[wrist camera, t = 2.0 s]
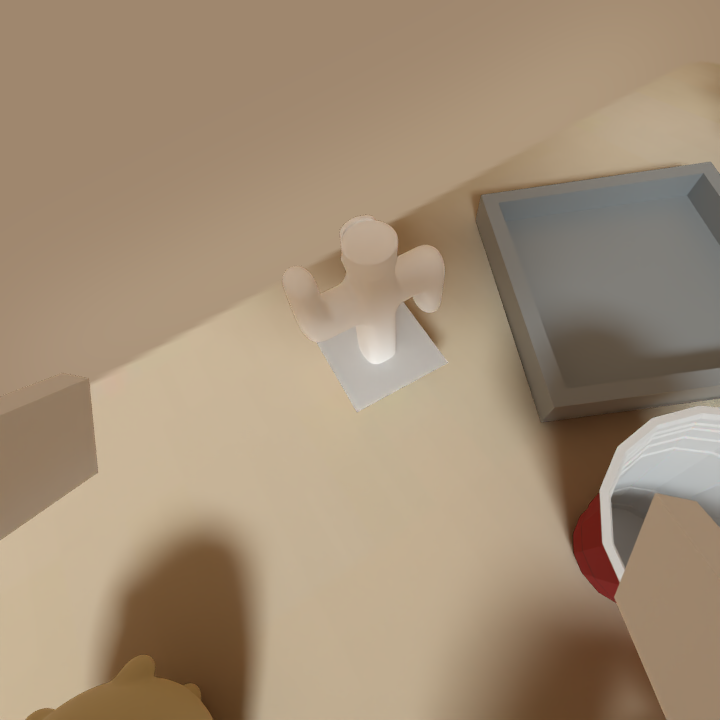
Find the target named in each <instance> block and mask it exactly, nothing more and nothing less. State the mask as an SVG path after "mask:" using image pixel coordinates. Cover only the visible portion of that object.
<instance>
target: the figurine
mask: <svg viewBox="0 0 720 720" xmlns="http://www.w3.org/2000/svg"><path fill="white" fill-rule="evenodd" d="M339 236H340V242H341V251H342V256H341V261H342V263H343V265H344V268H345V270H346V275H345V278H344V279H343V281H342V282H341V283H340V284H339V285H337V286H335V287H333V288H331V289H329V290H327V291H325V292H323V293H319V289H318V286H317V283H316V281H315V279H314V277H313V276H312V275H311V273H310V272H309V271H308V270H306V269H305V268H303V267H301V266H292V267H290V268H288V269H287V270H286V271H285V272H284V274H283V279H282V282H283V288H284V291H285V294H286V296H287V299H288V301H289V304H290V306H291V309H292V312H293V314H294V317H295V319H296V321H297V323H298V325H299V327H300V329H301V331H302V332H303V334H304V335H305V336H306V337H307V338H308V339H310V340H311V341H314V342H317V344H318V346H319V348H320V349H321V351H322V353H323V354H324V356H325V358H326V360H327V361H328V363H329V365H330V367H331V368H332V370H333V372H334V373H335V375H336V377H337V379H338V380H339V382H340V384H341V386H342V387H343V389H344V391H345V393H346V394H347V396H348V398H349V399H350V401H351V403H352V405H353V406H354V408H355V410H356V412H358V411H360V410H362V409H364V408H366V407H368V406H370V405H371V404H373V403H375V402H377V401H379V400H381V399H382V398H384V397H386V396H388V395H390V394H392V393H394V392H395V391H397V390H399V389H401V388H403V387H405V386H406V385H408V384H410V383H412V382H414V381H416V380H418V379H419V378H421V377H423V376H425V375H427V374H429V373H430V372H432V371H434V370H436V369H438V368H440V367H442V366H443V365H445V364H447V363H448V362H447V360H446V359H445V358H444V356H443V355H442V354H441V352H440V351H439V350H438V348H437V347H436V345H435V344H434V343H433V341H432V340H431V339H430V337H429V336H428V335H427V333H426V332H425V331H424V329H423V328H422V326H421V325H420V324H419V322H418V321H417V320H416V318H415V317H414V316H413V314H412V313H411V311H410V310H409V309H408V307H407V306H406V305H405V303H404V301H406V300H408V299H410V298H412V297H413V300H414V302H415V303H416V305H417V306H418V307H419V308H420V309H421V310H422V311H424V312H427V313H432V312H435V311H436V310H438V308H439V307H440V304H441V298H442V292H443V285H444V278H445V265H444V261H443V258H442V256H441V254H440V252H439V251H438V250H437V249H436V248H435V247H433V246H431V245H421V246H418V247H416V248H413V249H411V250H409V251H407V252H405V253H403V254H401V255H399V256H397V251H398V236H397V234H396V232H395V230H394V229H393V228H392V227H391V226H390V225H388V224H387V223H385V222H382V221H377V220H375V219H374V217H373V216H371V215H362V216H357V217H354V218H352V219H350V220H349V221H348V222H346V223H345V224H343V226H342V228H341V230H340V232H339Z"/></svg>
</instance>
